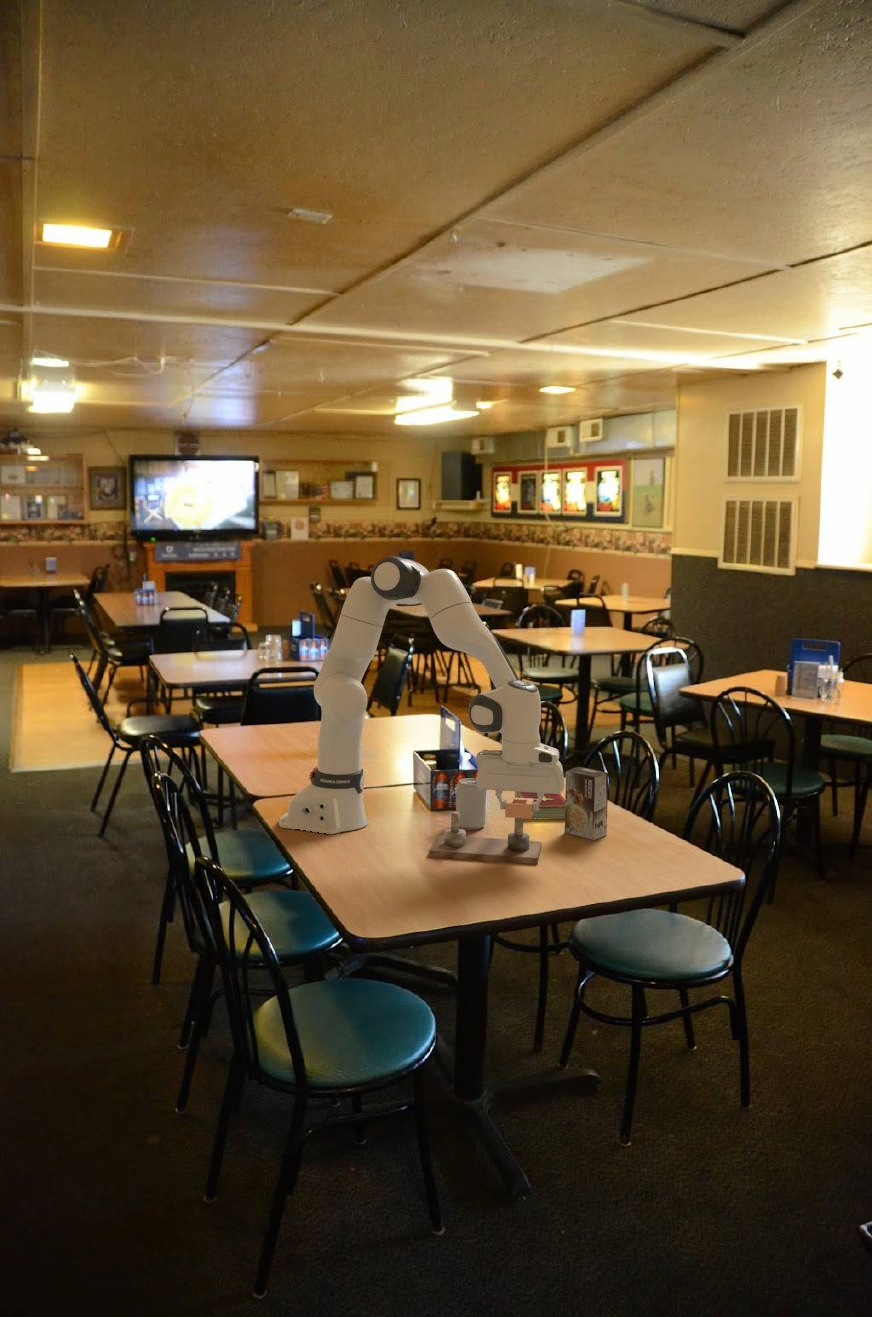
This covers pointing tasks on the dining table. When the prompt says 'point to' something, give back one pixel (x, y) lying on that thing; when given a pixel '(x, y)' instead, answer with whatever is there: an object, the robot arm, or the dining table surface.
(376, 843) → the dining table surface
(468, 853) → the stand board
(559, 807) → the hardcover book
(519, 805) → the collar
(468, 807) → the can
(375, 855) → the dining table surface
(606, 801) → the coffee box
